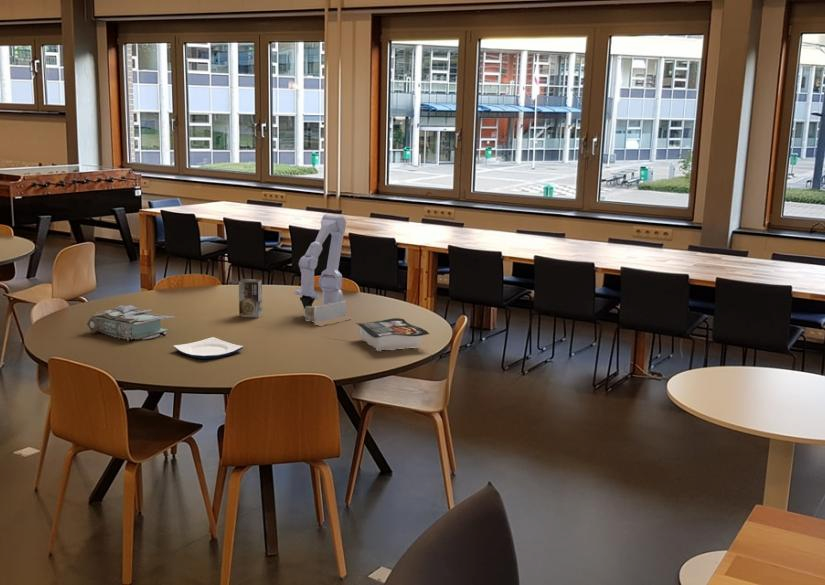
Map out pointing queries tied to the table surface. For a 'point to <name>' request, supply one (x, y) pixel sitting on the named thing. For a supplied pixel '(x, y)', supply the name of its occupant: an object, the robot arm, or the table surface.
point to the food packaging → (391, 334)
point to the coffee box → (250, 298)
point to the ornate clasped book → (127, 323)
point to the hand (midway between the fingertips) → (307, 312)
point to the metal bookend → (329, 311)
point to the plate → (208, 348)
